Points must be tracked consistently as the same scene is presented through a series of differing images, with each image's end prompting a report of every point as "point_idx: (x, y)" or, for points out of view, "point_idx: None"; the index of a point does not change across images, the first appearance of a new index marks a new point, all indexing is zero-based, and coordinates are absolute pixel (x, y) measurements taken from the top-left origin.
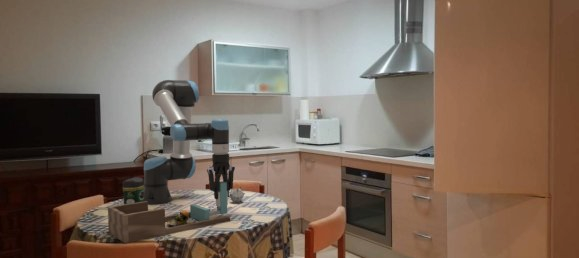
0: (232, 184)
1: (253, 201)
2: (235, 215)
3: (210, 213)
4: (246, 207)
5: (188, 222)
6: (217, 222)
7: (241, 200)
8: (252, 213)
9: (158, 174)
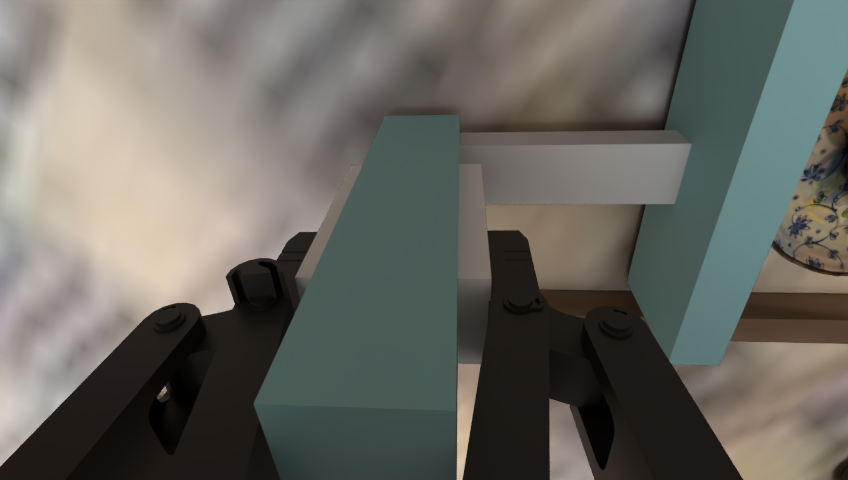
0: (113, 362)
1: (23, 378)
2: (297, 95)
3: (592, 141)
4: (114, 275)
5: (831, 133)
6: None
7: None
8: (107, 46)
9: None
